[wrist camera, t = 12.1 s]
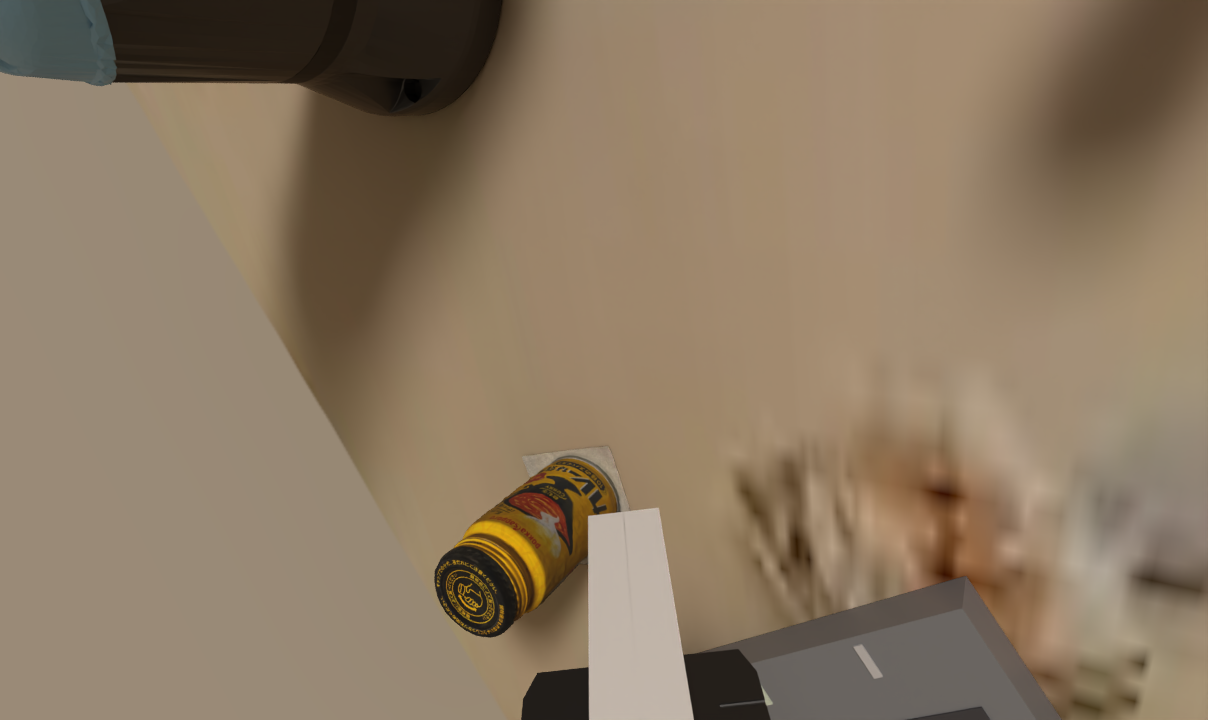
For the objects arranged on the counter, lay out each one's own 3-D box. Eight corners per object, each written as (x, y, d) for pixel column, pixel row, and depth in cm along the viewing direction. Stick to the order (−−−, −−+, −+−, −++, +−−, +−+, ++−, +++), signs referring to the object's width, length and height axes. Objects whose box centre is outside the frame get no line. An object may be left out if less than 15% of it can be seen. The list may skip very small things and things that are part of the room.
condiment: (609, 444, 45) (494, 541, 35) (648, 562, 46) (547, 686, 37) (523, 454, 49) (398, 544, 39) (561, 562, 50) (449, 675, 41)
